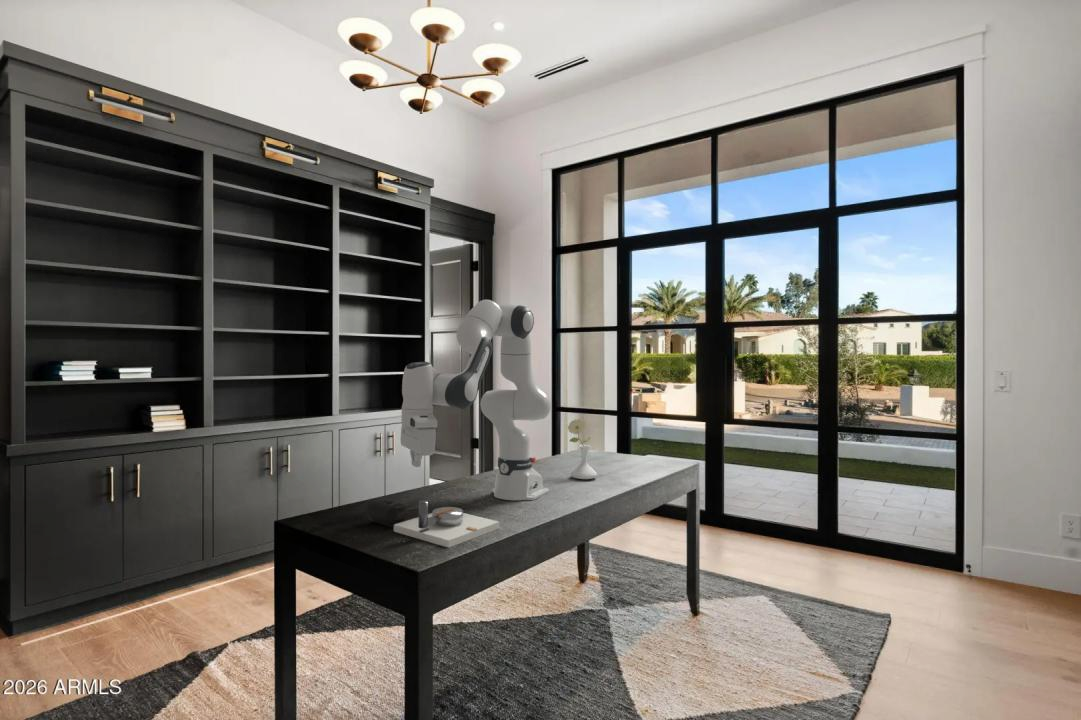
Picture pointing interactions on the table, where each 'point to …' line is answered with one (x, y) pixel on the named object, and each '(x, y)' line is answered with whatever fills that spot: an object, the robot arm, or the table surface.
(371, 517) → the end cap
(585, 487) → the table surface
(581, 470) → the flower in vase
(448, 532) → the panel
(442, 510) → the silver metal piece
